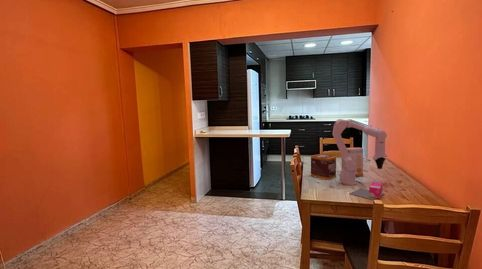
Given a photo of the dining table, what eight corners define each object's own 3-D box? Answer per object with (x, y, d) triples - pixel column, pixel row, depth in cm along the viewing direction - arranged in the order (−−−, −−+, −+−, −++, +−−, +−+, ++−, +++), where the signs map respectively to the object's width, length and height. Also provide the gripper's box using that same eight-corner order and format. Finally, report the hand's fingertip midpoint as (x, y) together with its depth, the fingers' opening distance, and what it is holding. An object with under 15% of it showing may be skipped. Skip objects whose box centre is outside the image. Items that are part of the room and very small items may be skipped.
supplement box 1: (328, 180, 181) (328, 158, 179) (310, 175, 193) (310, 155, 192) (336, 177, 187) (336, 156, 185) (319, 173, 199) (319, 153, 198)
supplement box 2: (382, 192, 150) (380, 198, 141) (371, 191, 153) (368, 196, 144) (383, 183, 149) (380, 188, 140) (371, 181, 153) (368, 187, 144)
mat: (349, 194, 151) (349, 193, 151) (361, 188, 159) (361, 188, 159) (372, 200, 140) (372, 199, 140) (384, 194, 148) (384, 193, 148)
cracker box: (360, 174, 192) (360, 147, 190) (363, 176, 186) (363, 148, 184) (341, 174, 193) (341, 147, 191) (343, 176, 187) (343, 148, 185)
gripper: (381, 150, 157) (380, 171, 159) (391, 147, 166) (391, 167, 167) (369, 149, 163) (369, 169, 164) (380, 146, 171) (379, 166, 173)
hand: (379, 168), depth 166 cm, fingers closed
